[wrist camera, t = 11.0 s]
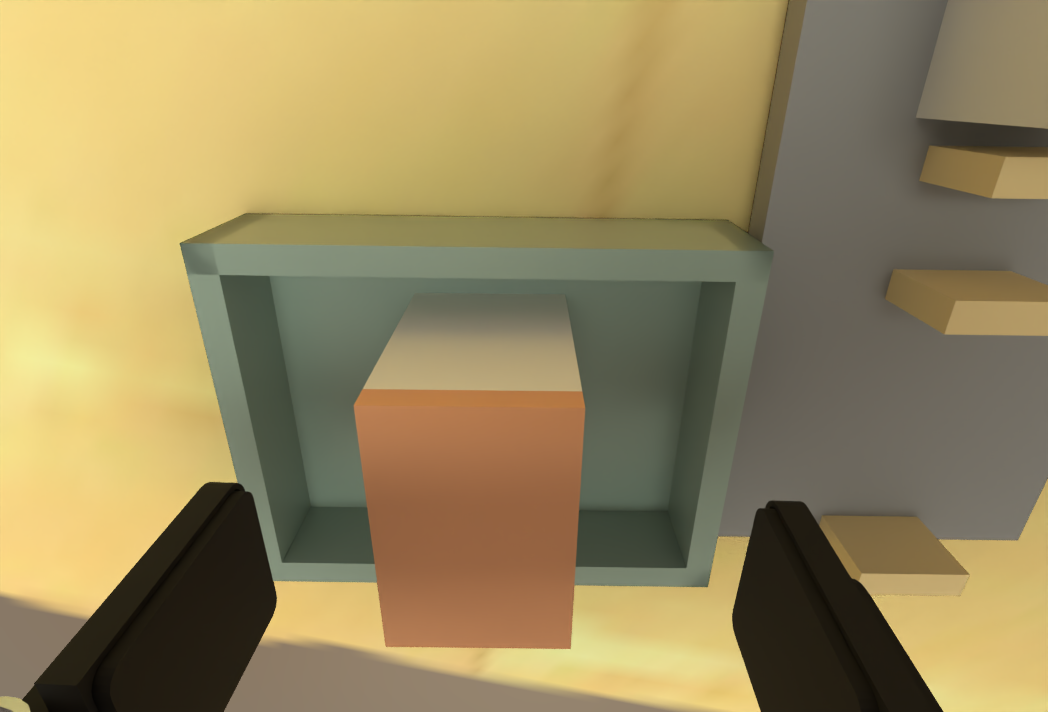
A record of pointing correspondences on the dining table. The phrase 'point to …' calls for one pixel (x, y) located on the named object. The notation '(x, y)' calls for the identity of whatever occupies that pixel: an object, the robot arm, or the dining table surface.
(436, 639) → the block
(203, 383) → the dining table surface
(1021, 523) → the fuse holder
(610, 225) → the tray
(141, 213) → the dining table surface
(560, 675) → the dining table surface
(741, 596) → the robot arm
